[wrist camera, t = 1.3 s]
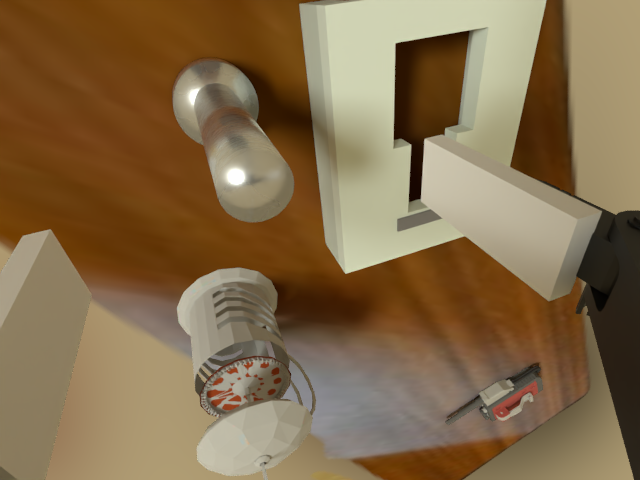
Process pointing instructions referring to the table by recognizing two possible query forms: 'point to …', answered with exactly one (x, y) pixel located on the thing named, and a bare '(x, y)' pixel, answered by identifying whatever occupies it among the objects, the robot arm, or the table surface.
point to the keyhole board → (378, 111)
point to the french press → (242, 373)
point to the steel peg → (232, 139)
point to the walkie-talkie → (505, 396)
